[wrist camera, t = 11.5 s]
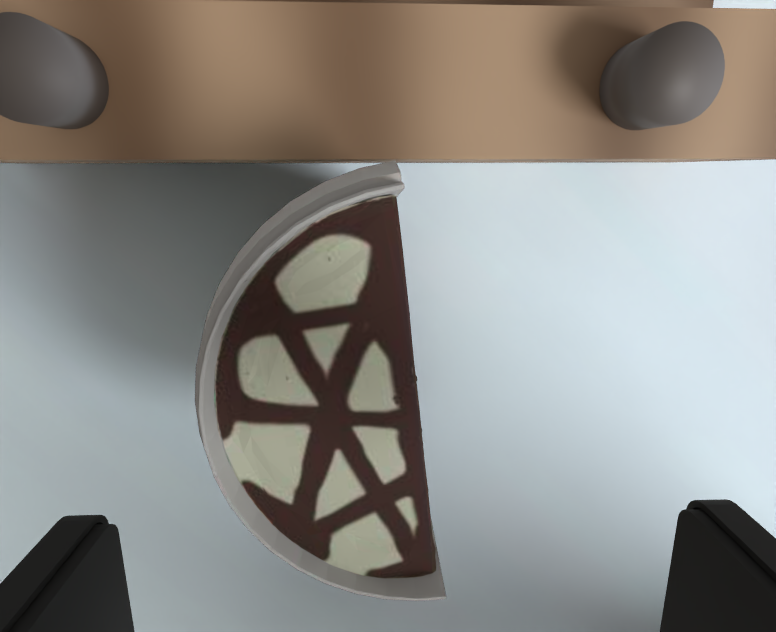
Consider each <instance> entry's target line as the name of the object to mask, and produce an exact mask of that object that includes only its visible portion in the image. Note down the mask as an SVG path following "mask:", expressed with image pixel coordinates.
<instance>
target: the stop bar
mask: <svg viewBox="0 0 776 632" xmlns="http://www.w3.org/2000/svg"><path fill="white" fill-rule="evenodd" d="M713 1H714V0H0V163H386V162H391V161H396V163H513V162H698V161H731V160H765V159H776V9H740V8H713Z"/></svg>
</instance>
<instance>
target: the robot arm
mask: <svg viewBox="0 0 776 632" xmlns="http://www.w3.org/2000/svg"><path fill="white" fill-rule="evenodd" d="M0 632H134V626H133V620H132V614H131V607H130V601H129V595H128V588H127V582H126V576H125V569H124V563H123V557H122V550H121V544H120V538H119V532H118V528H117V527H116V525H114V524H109V523H108V520H107V519H106V517H105V516H103V515H78V516H65V517H63V518H61V519H60V520H59V521H58V522H57V523H56V524H55V525H54V526H53V527H52V528H51V529H50V530H49V532H48V533H47V534H46V535H45V536H44V537H43V538H42V539H41V540H40V541H39V542H38V544H37V545H36V546H35V547H34V548H33V549H32V550H31V551H30V552H29V553H28V554H27V555H26V557H25V558H24V559H23V560H22V561H21V562H20V563H19V564H18V565H17V566H16V567H15V569H14V570H13V571H12V572H11V573H10V574H9V575H8V576H7V577H6V578H5V579H4V580H3V582H2V583H1V584H0ZM660 632H776V538H774V537H773V536H772V535H771V534H770V533H769V532H768V531H766V530H765V529H764V528H763V527H762V526H761V525H760V524H758V523H757V522H756V521H755V520H754V519H753V518H752V517H750V516H749V515H748V514H747V513H746V512H745V511H744V510H742V509H741V508H740V507H739V506H738V505H737V504H735V503H734V502H732V501H730V500H694V501H691V502H690V503H689V504H688V506H687V509H686V510H682V511H681V512H680V513H679V516H678V521H677V527H676V534H675V540H674V546H673V552H672V559H671V565H670V571H669V577H668V584H667V590H666V596H665V602H664V609H663V615H662V621H661V627H660Z"/></svg>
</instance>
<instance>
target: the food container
mask: <svg viewBox="0 0 776 632" xmlns="http://www.w3.org/2000/svg"><path fill="white" fill-rule="evenodd" d="M403 189H404V184H403V183H402V181H401V172H400V170H399V168H398V166H397V164H396V161H391V162H386V163H382V164H377V165H372V166H368V167H363V168H359V169H356V170H354V171H351V172H348V173H346V174H343V175H341V176H338V177H335V178H333V179H330V180H327V181H325V182H323V183H321V184H319V185H318V186H316V187H314V188H312V189H311V190H309V191H307V192H305V193H304V194H302V195H300V196H299V197H297V198H295V199H293V200H292V201H290V202H289V203H288V204H287V205H285V206H284V207H283V208H282V209H281V210H279V211H278V212H277V213H276V214H274V215H273V216H272V217H271V218H270V219H268V220H267V221H266V222H265V223H264V224H262V225H261V227H260V228H259V229H258V230H257V231H256V232H255V233H254V235H253V236H252V237H251V238H250V239H249V240H248V242H247V243H246V244H245V245H244V246H243V247H242V248H241V250H240V251H239V252H238V253H237V255H236V257H235V258H234V260H233V262H232V263H231V265H230V267H229V268H228V270H227V271H226V273H225V275H224V276H223V278H222V280H221V281H220V283H219V286H218V288H217V291H216V293H215V296H214V298H213V301H212V304H211V306H210V309H209V311H208V314H207V317H206V322H205V326H204V330H203V335H202V340H201V345H200V350H199V354H198V359H197V364H196V380H195V405H196V412H197V419H198V426H199V432H200V436H201V439H202V442H203V445H204V448H205V451H206V455H207V458H208V461H209V464H210V466H211V469H212V472H213V475H214V478H215V480H216V481H217V483H218V485H219V487H220V489H221V491H222V493H223V494H224V496H225V498H226V500H227V502H228V504H229V506H230V507H231V508H232V509H233V511H234V512H235V513H236V515H237V516H238V517H239V519H240V520H241V521H242V522H243V524H244V525H245V526H246V528H247V529H248V530H249V531H250V532H251V533H252V534H253V535H254V536H255V537H256V538H257V539H258V540H259V541H260V542H261V543H263V544H264V545H265V546H266V547H267V548H268V549H269V550H270V551H271V552H272V553H274V554H275V555H277V556H278V557H279V558H281V559H282V560H284V561H285V562H287V563H288V564H290V565H291V566H292V567H294V568H295V569H297V570H299V571H301V572H303V573H305V574H307V575H309V576H311V577H313V578H315V579H317V580H319V581H321V582H323V583H325V584H328V585H331V586H334V587H337V588H340V589H343V590H346V591H349V592H352V593H355V594H360V595H365V596H371V597H376V598H381V599H389V600H408V601H425V600H439V599H446V593H445V588H444V583H443V578H442V573H441V567H440V562H439V557H438V552H437V547H436V542H435V537H434V532H433V526H432V521H431V516H430V507H429V497H428V487H427V478H426V470H425V461H424V451H423V441H422V428H421V421H420V410H419V401H418V393H417V384H416V381H417V377H416V375H415V366H414V358H413V347H412V336H411V326H410V313H409V305H408V296H407V286H406V277H405V267H404V258H403V249H402V240H401V232H400V224H399V215H398V207H397V199H396V197H397V196H398V195H399V194H400V193H401V192H402V190H403Z"/></svg>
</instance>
